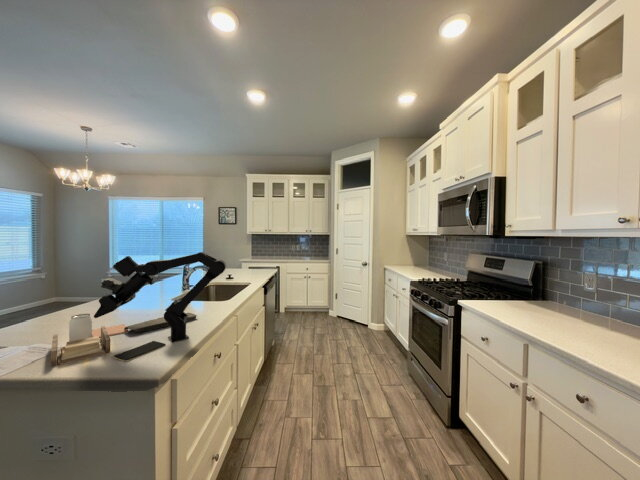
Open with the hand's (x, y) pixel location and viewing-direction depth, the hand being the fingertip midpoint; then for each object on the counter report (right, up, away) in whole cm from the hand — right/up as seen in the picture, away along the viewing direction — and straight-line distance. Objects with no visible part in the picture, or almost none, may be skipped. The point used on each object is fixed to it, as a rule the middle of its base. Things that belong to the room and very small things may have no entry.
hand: (101, 313), depth 102 cm
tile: (-8, -12, +14) cm, 20 cm away
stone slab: (+10, -12, +24) cm, 29 cm away
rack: (-3, -12, -5) cm, 14 cm away
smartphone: (+19, -13, -5) cm, 24 cm away
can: (-6, -12, -2) cm, 14 cm away
